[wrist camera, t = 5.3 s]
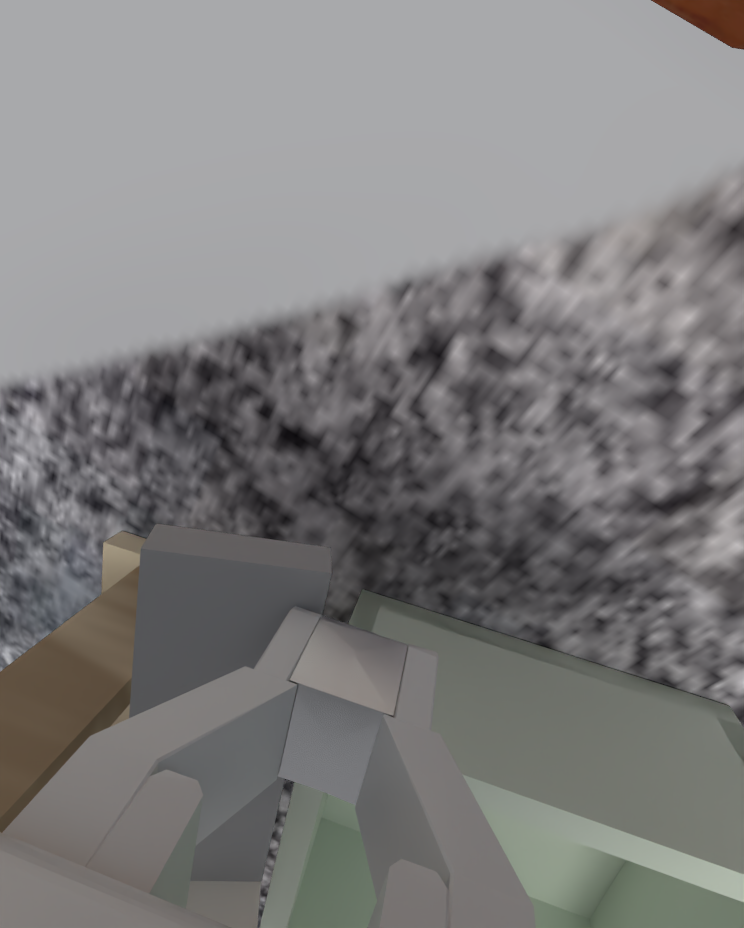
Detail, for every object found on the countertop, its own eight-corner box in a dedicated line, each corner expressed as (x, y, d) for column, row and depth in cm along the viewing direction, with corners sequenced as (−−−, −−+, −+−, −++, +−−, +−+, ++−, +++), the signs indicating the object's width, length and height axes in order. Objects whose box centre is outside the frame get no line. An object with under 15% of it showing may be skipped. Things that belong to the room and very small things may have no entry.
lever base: (231, 764, 22) (13, 1171, 12) (111, 719, 22) (-195, 1065, 12) (264, 576, 18) (-5, 918, 8) (121, 530, 19) (-293, 791, 9)
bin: (597, 915, 20) (644, 1150, 15) (306, 805, 22) (246, 979, 16) (729, 706, 16) (863, 917, 11) (362, 589, 18) (309, 719, 12)
